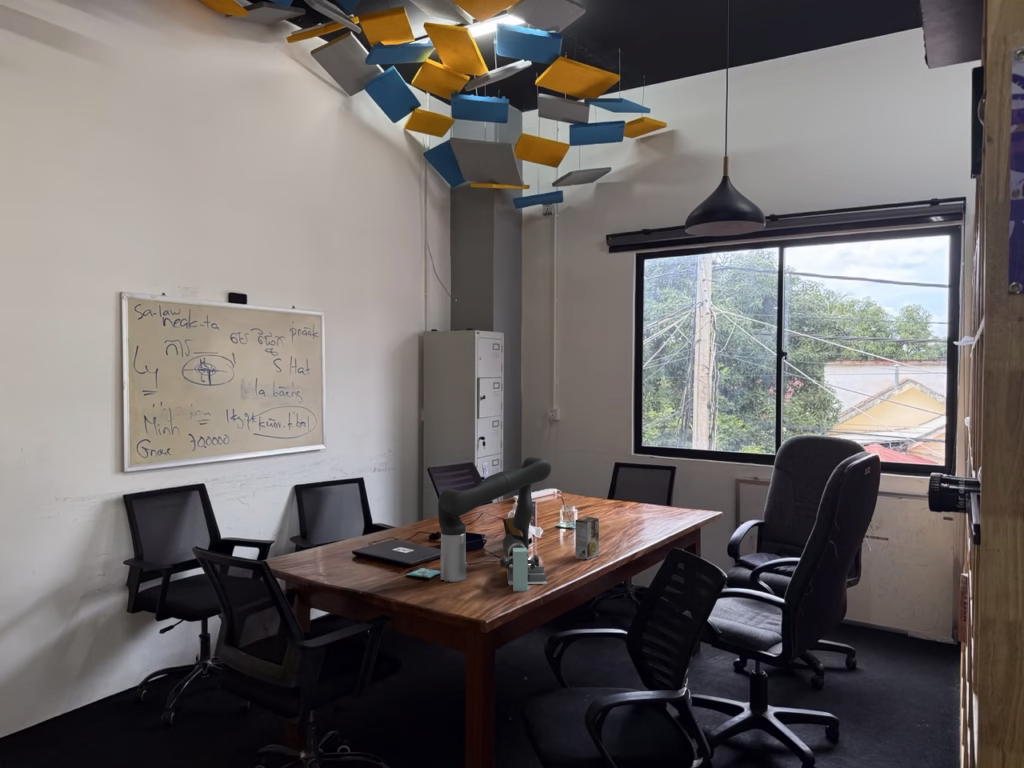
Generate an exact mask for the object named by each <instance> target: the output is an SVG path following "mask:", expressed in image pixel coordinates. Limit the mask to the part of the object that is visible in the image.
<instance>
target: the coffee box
mask: <svg viewBox="0 0 1024 768" xmlns="http://www.w3.org/2000/svg"><path fill="white" fill-rule="evenodd" d="M574 522H575V526H574V527H575V529H574V530H575V543H574V544H575V545H574V546H575V549H574V550H575V553H574V554H575V555H574V556H575V557H577V558H576V559H579V558H582V559H581V560H583V559H587V560H586V561H589V560H588V559H590V558H592V559H594V558H597V557H599V556H600V548H599V547H600V542H599V541H600V539H599V538H600V535H599V534H600V532H599V531H600V529H599V527H600V526H599V522H600V519H599V518H597V517H593V516H584V517H581V518H578V519H575V521H574ZM598 555H599V556H598ZM596 556H597V557H596ZM575 557H574V558H575ZM593 557H594V558H593ZM590 560H591V559H590Z"/></svg>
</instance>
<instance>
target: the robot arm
mask: <svg viewBox="0 0 1024 768" xmlns="http://www.w3.org/2000/svg"><path fill="white" fill-rule="evenodd" d="M551 471H552V465H551V463H550V462H549V461H548V460H546V459H545V458H541V457H533V456H530V457H527V458H525V459H524V460H523V462H522V465H521V468H517V469H516V468H515V469H508V470H502V471H499V472H496V473H494V474H491V475H489V476H486V477H485V478H483V480H482V481H481V482H480V483H479V484H478V485H477V486H475V487H473V488H471V489H466V490H461V491H460V490H456V489H451V488H449V489H445V490H443V491H442V492H441V493H440V495H439V497H438V502H437V504H438V505H437V509H438V511H437V513H438V524H439V525H438V526H439V527H440V581H441V580H444V581H443V582H448V581H449V582H451V583H453V582H462V581H464V580H466V568H467V567H466V561H467V560H466V557H467V556H466V555H467V554H466V552H467V551H466V544H467V541H466V540H467V539H466V536H467V535H466V532H467V531H466V529H467V528H466V525H465V523H464V522H463V521H462V520H461V517H460V516H463V515H466V514H467V513H469V512H471V511H473V510H474V509H476V508H477V507H479V506H481V505H484V504H486V503H489V502H492V501H494V500H496V499H499V498H503V496H506V495H508V494H511V493H513V492H514V491H517V490H518V496H517V497H518V498H517V503H516V508H515V512H514V515H513V519H512V523H511V524H512V525H511V526H512V527H513V528H514V529H516V530H518V531H520V532H521V534H522V535H518V534H514V533H508V534H506V535H504V538H503V539H502V540H503V541H502V548H503V550H504V551H505V552H506V553H507V557H505V556H504V555H501V556H500V558H499V567H501V568H503V567H505V569H506V571H507V570H509V567H513V548H527V551H529V545H530V543H529V542H530V539H529V531H530V525H531V521H532V517H533V511H534V510H533V509H534V505H533V498H532V486H533V484H535V483H539V482H542V481H545V480H546V479H547V478H548V477H549V476H550V474H551ZM529 566H530V567H531V569H533V568H535V566H537V567H538V566H540V559H539V556H538V555H535V554H534V555H533V557H531V556H529V555H528V567H529Z"/></svg>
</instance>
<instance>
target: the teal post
mask: <svg viewBox="0 0 1024 768" xmlns="http://www.w3.org/2000/svg"><path fill="white" fill-rule="evenodd" d="M528 551H529V550H528ZM528 551H527V548H513V585H512V591H513V592H528V590H529V589H528V556H529V552H528Z"/></svg>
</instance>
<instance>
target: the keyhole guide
mask: <svg viewBox="0 0 1024 768" xmlns="http://www.w3.org/2000/svg"><path fill="white" fill-rule="evenodd" d="M506 571H507V572H506V574H507V575H506V576H507V584H509V585H508V586H513V567H509V570H507V569H506ZM528 584H543V585H548V582H547V573H545V566H544V565H539V566H538V567H537V566H536V565H535V568H533V569H531V567H530V566H529V567H528Z"/></svg>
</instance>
